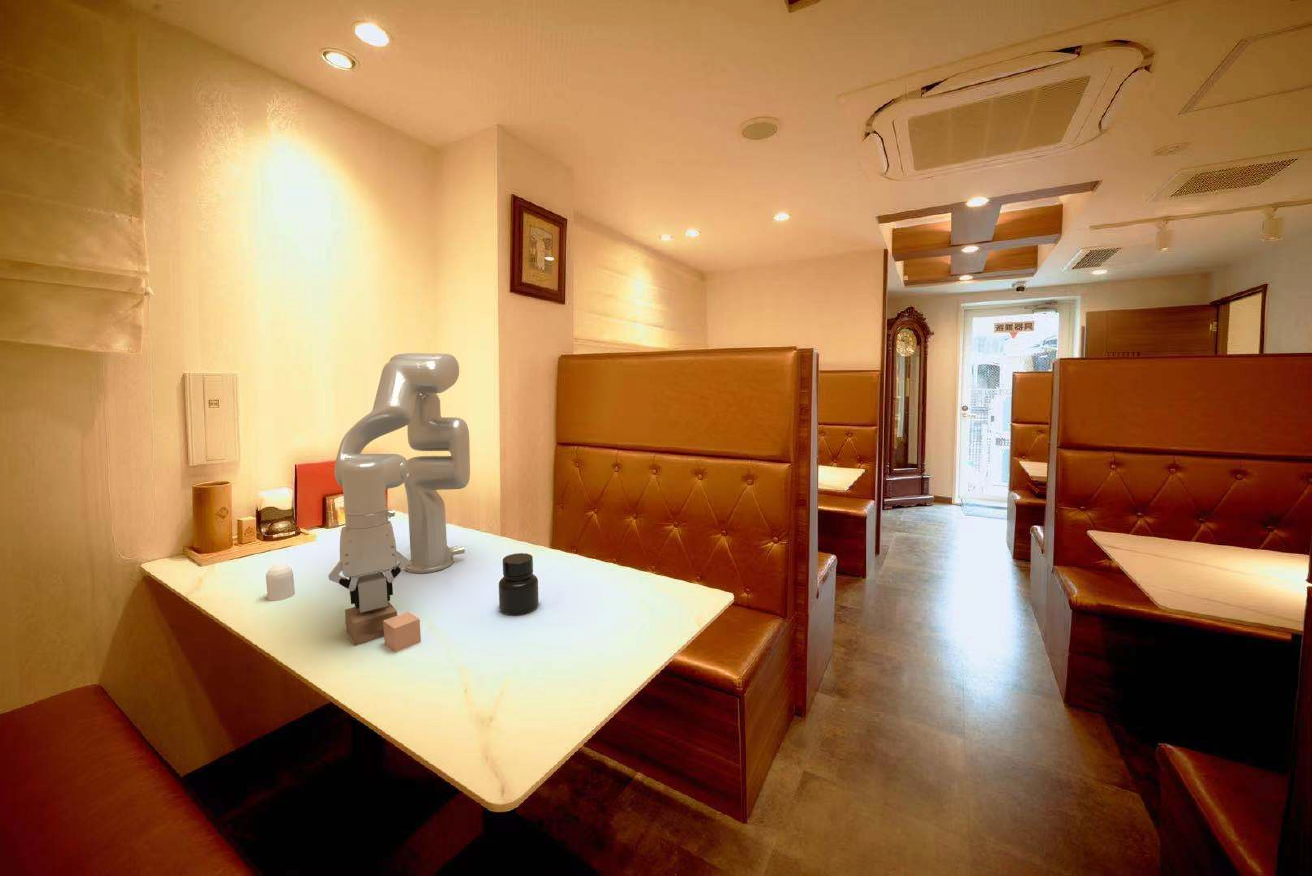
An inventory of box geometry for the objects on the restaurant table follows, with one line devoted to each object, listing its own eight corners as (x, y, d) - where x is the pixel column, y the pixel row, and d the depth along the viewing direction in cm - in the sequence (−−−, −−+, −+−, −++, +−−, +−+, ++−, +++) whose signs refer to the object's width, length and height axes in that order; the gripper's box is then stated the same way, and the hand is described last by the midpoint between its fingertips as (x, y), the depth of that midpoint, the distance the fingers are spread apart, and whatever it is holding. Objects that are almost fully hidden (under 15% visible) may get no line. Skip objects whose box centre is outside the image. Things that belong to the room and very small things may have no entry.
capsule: (280, 601, 118) (277, 570, 117) (262, 599, 119) (258, 568, 118) (300, 592, 123) (297, 561, 122) (282, 590, 124) (279, 560, 123)
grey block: (384, 597, 108) (382, 571, 107) (387, 606, 104) (386, 579, 103) (357, 603, 105) (355, 576, 104) (360, 612, 101) (358, 584, 100)
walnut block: (387, 619, 110) (386, 598, 109) (398, 633, 104) (396, 611, 103) (346, 631, 105) (344, 609, 104) (355, 647, 99) (353, 623, 98)
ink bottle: (523, 594, 122) (521, 548, 121) (547, 604, 117) (546, 556, 116) (490, 609, 114) (488, 560, 113) (514, 620, 109) (513, 569, 108)
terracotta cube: (409, 633, 104) (408, 611, 103) (420, 642, 101) (419, 619, 100) (384, 643, 100) (382, 620, 99) (395, 652, 97) (394, 628, 96)
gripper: (408, 509, 110) (412, 586, 112) (316, 522, 100) (323, 606, 102) (415, 516, 104) (419, 598, 106) (318, 531, 94) (325, 621, 96)
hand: (372, 601), depth 104 cm, fingers closed on grey block, 5 cm apart
